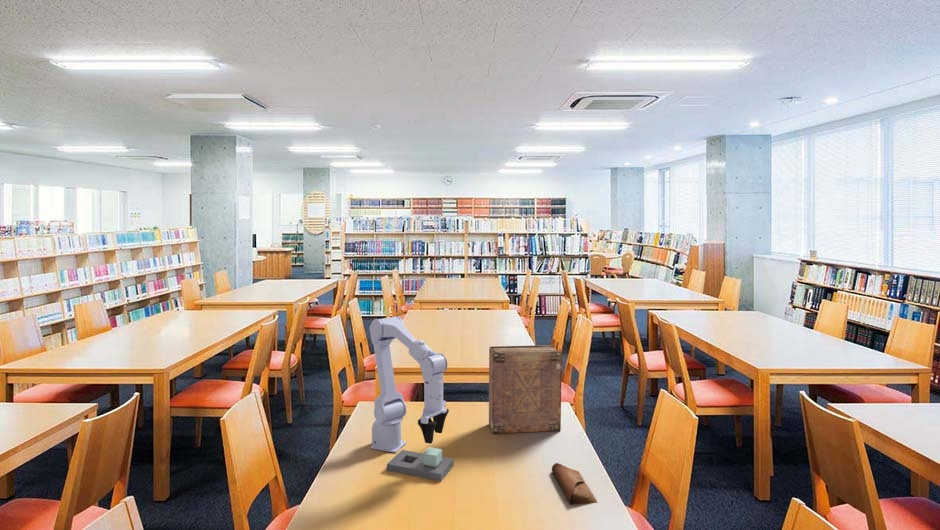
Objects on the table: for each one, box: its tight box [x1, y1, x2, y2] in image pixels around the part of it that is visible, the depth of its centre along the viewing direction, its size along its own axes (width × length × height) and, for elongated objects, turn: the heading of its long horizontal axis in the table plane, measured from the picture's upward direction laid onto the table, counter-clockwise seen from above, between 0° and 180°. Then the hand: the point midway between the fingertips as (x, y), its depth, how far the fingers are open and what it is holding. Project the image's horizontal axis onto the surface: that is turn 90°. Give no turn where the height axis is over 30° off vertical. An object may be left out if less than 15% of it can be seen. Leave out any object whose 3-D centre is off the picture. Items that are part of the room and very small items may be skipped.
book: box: [488, 344, 563, 435], centre depth 181 cm, size 25×9×30 cm, turn 97°
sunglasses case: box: [551, 462, 598, 506], centre depth 141 cm, size 18×7×7 cm
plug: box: [423, 446, 443, 468], centre depth 150 cm, size 4×4×6 cm
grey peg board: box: [386, 449, 455, 482], centre depth 151 cm, size 18×10×2 cm, turn 71°
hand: (433, 437), depth 149 cm, fingers open, 7 cm apart
